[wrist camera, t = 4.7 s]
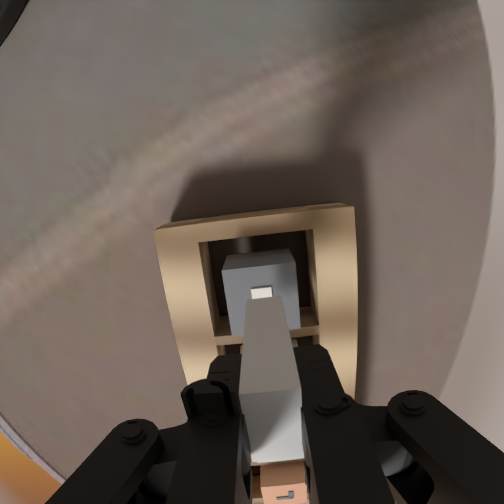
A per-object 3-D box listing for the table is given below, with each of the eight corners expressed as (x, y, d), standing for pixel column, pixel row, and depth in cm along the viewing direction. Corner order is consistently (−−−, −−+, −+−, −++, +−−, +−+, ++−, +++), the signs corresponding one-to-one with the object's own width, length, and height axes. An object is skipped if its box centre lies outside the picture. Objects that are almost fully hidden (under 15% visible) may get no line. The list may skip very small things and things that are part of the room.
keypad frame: (167, 222, 20) (153, 230, 17) (339, 202, 19) (353, 206, 16) (229, 481, 25) (227, 503, 22) (337, 470, 25) (343, 491, 22)
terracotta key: (260, 459, 22) (260, 488, 19) (302, 455, 22) (306, 483, 19) (264, 480, 23) (264, 507, 20) (303, 476, 23) (306, 503, 20)
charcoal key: (227, 255, 18) (221, 271, 15) (288, 248, 18) (295, 262, 15) (235, 311, 19) (231, 336, 16) (293, 305, 19) (300, 329, 16)
